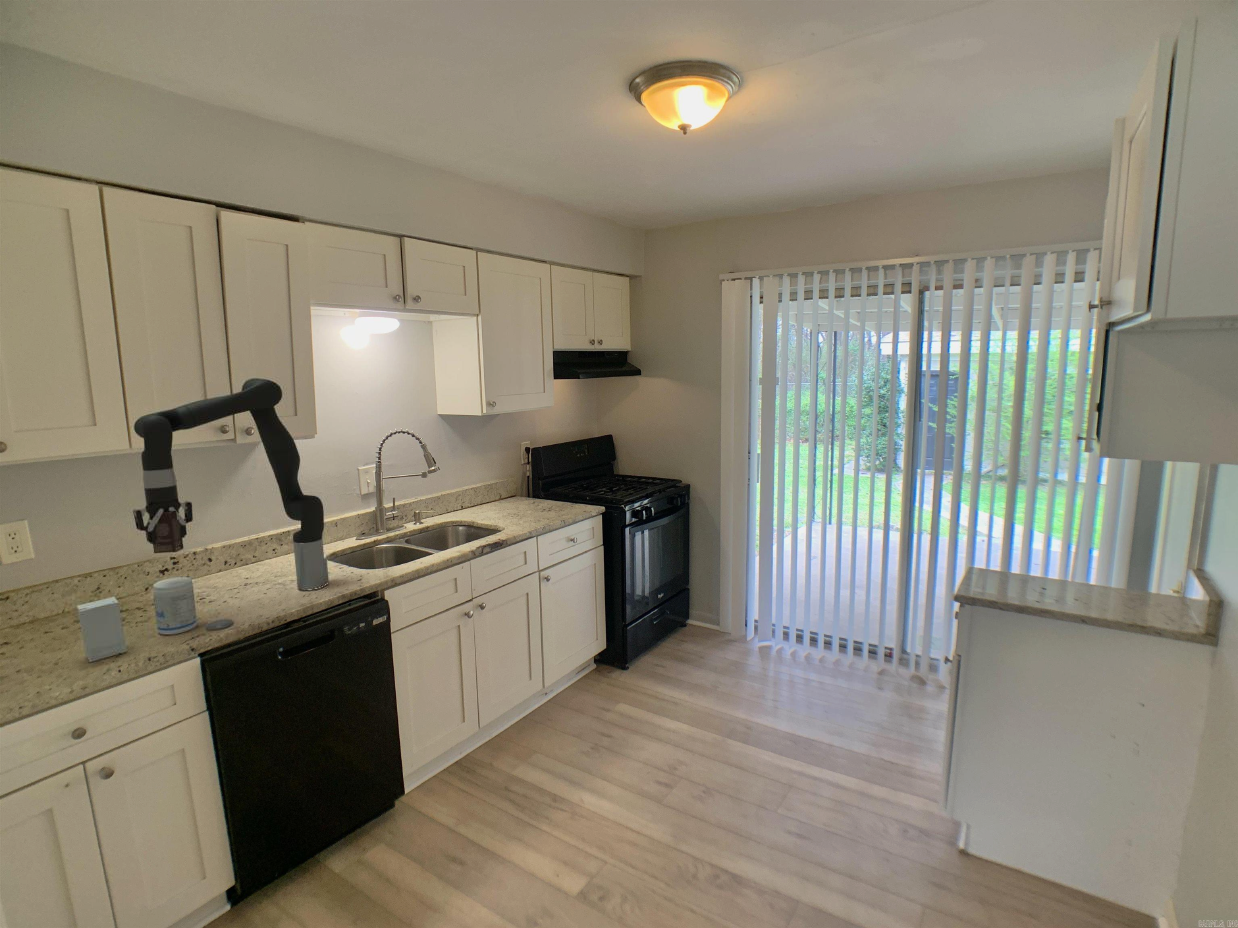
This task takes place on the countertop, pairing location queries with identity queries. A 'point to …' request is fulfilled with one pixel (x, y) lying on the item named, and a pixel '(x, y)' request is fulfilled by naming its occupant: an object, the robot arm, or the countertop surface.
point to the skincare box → (102, 628)
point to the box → (167, 533)
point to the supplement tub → (174, 605)
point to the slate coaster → (219, 624)
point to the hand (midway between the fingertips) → (167, 540)
